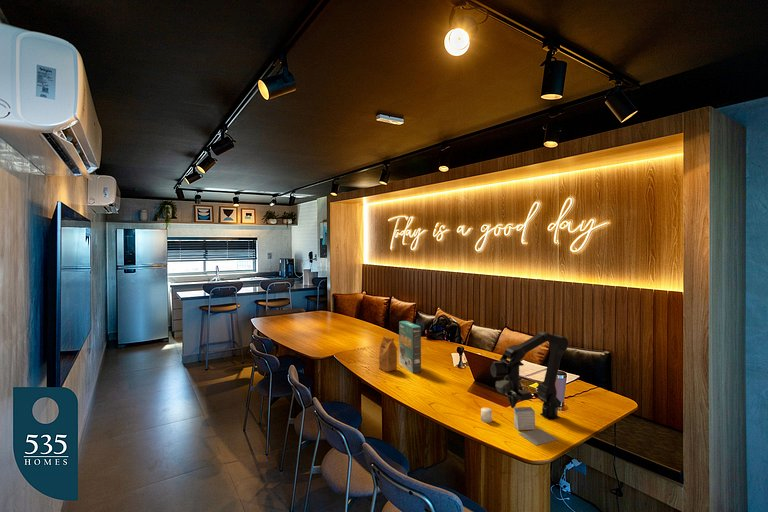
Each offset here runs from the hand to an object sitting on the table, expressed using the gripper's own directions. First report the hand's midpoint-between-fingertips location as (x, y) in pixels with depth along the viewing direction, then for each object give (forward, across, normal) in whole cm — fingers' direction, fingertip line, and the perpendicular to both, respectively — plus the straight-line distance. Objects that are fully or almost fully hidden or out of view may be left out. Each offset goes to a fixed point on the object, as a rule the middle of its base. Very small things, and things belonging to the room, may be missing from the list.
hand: (512, 407), depth 172 cm
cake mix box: (+6, -88, -12) cm, 89 cm away
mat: (+6, +16, 0) cm, 17 cm away
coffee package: (+6, -91, -27) cm, 95 cm away
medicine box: (+6, +8, 0) cm, 10 cm away
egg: (+6, -5, -11) cm, 14 cm away
